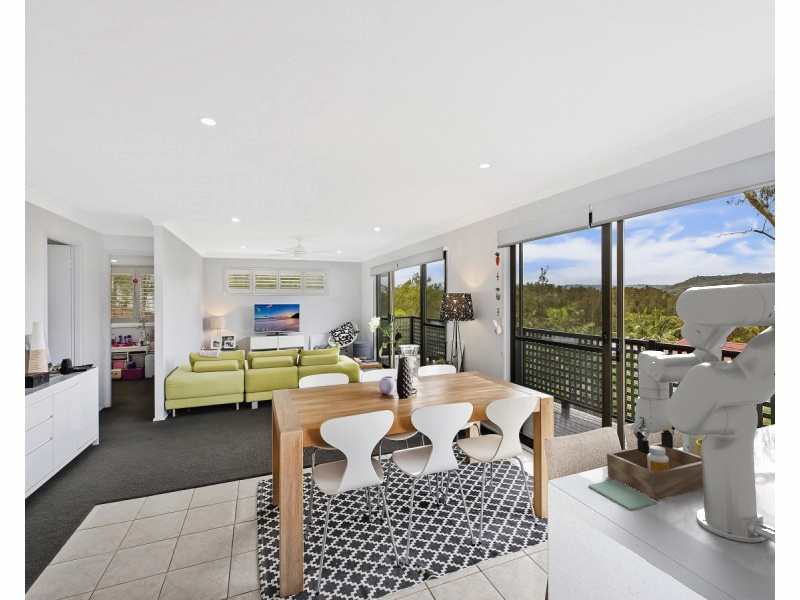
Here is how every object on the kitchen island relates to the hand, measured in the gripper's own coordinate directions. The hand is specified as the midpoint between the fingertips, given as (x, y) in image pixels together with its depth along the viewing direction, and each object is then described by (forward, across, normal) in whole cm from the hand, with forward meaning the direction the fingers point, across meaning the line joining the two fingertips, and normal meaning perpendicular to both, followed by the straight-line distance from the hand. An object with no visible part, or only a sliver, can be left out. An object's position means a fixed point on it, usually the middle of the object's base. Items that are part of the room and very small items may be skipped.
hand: (655, 449), depth 115 cm
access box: (+9, 0, +1) cm, 9 cm away
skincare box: (+9, -22, -4) cm, 24 cm away
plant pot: (+9, -18, +6) cm, 21 cm away
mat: (+8, +17, +3) cm, 20 cm away
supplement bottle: (+9, 0, +1) cm, 9 cm away
